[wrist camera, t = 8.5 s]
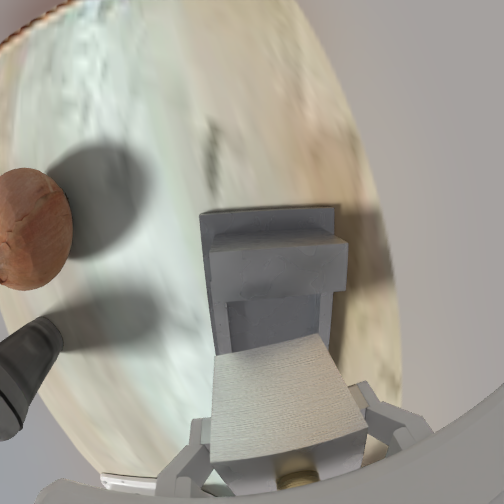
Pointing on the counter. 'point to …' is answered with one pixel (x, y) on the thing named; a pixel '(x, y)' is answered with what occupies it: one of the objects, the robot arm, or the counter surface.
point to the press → (271, 275)
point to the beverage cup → (25, 370)
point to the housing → (283, 418)
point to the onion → (32, 229)
